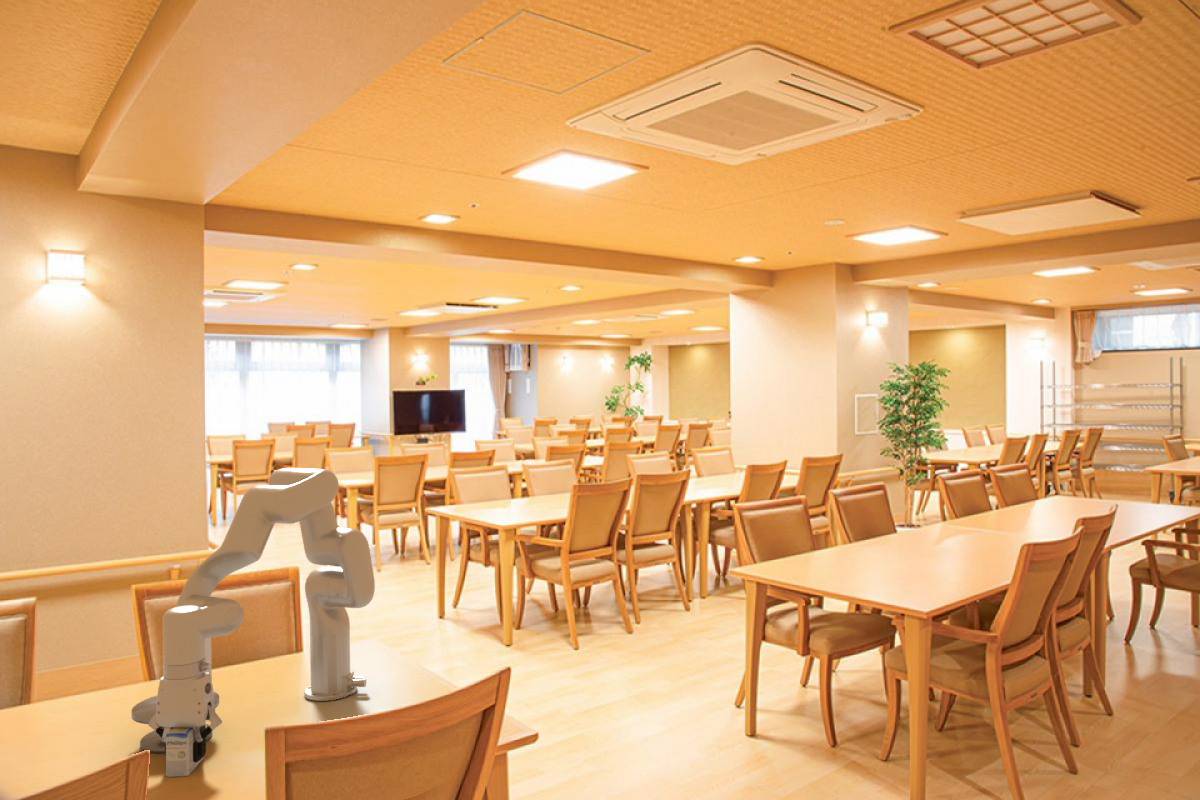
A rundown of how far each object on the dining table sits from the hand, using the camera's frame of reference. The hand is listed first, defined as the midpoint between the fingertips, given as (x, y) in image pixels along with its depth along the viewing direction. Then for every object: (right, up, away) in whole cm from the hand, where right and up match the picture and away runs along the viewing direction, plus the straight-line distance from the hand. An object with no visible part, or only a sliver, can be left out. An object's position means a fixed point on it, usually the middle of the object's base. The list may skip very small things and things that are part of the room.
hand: (185, 758), depth 164 cm
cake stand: (-9, -2, +14) cm, 17 cm away
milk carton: (-20, -2, +43) cm, 47 cm away
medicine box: (0, -2, 0) cm, 2 cm away
